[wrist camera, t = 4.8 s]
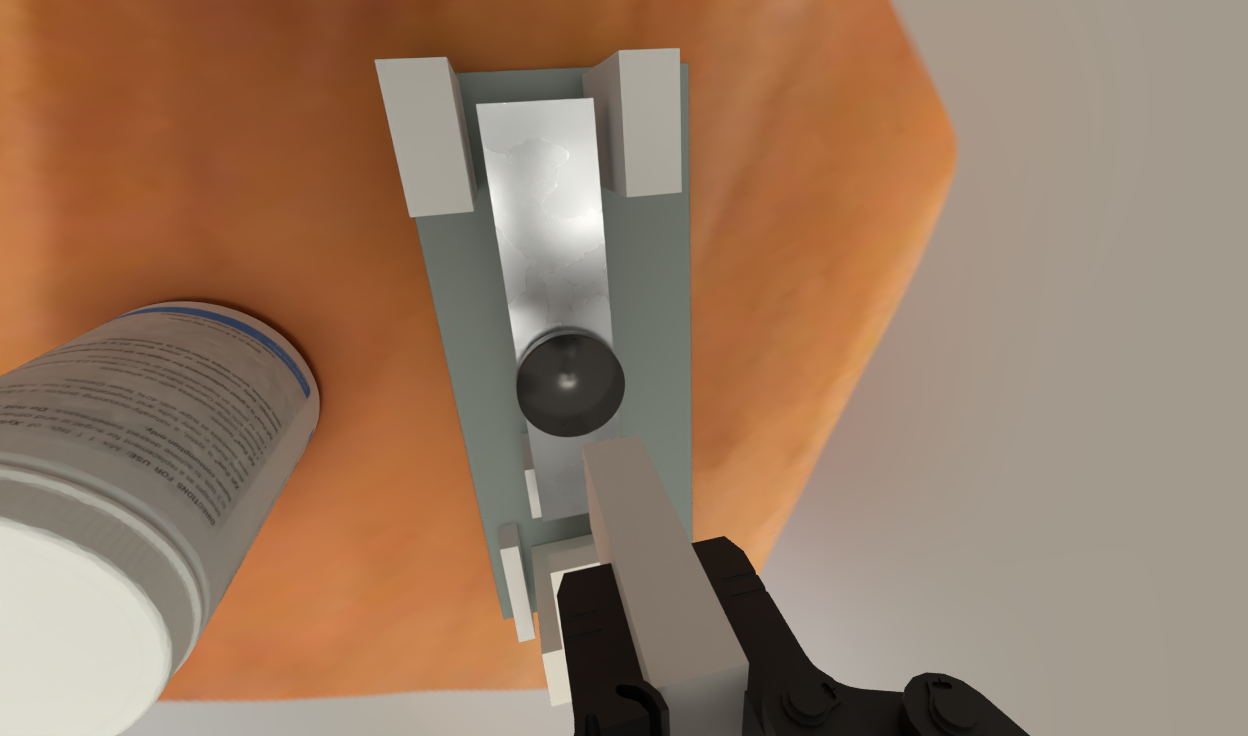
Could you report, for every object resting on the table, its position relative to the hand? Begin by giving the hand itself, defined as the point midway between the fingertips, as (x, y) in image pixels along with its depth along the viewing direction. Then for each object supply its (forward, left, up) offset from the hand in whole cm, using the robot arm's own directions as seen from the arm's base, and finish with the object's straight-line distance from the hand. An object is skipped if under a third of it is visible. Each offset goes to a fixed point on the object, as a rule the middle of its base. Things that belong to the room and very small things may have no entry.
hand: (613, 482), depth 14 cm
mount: (+4, +1, -16) cm, 16 cm away
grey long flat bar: (-1, 0, -10) cm, 10 cm away
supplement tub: (+2, -17, -16) cm, 23 cm away
